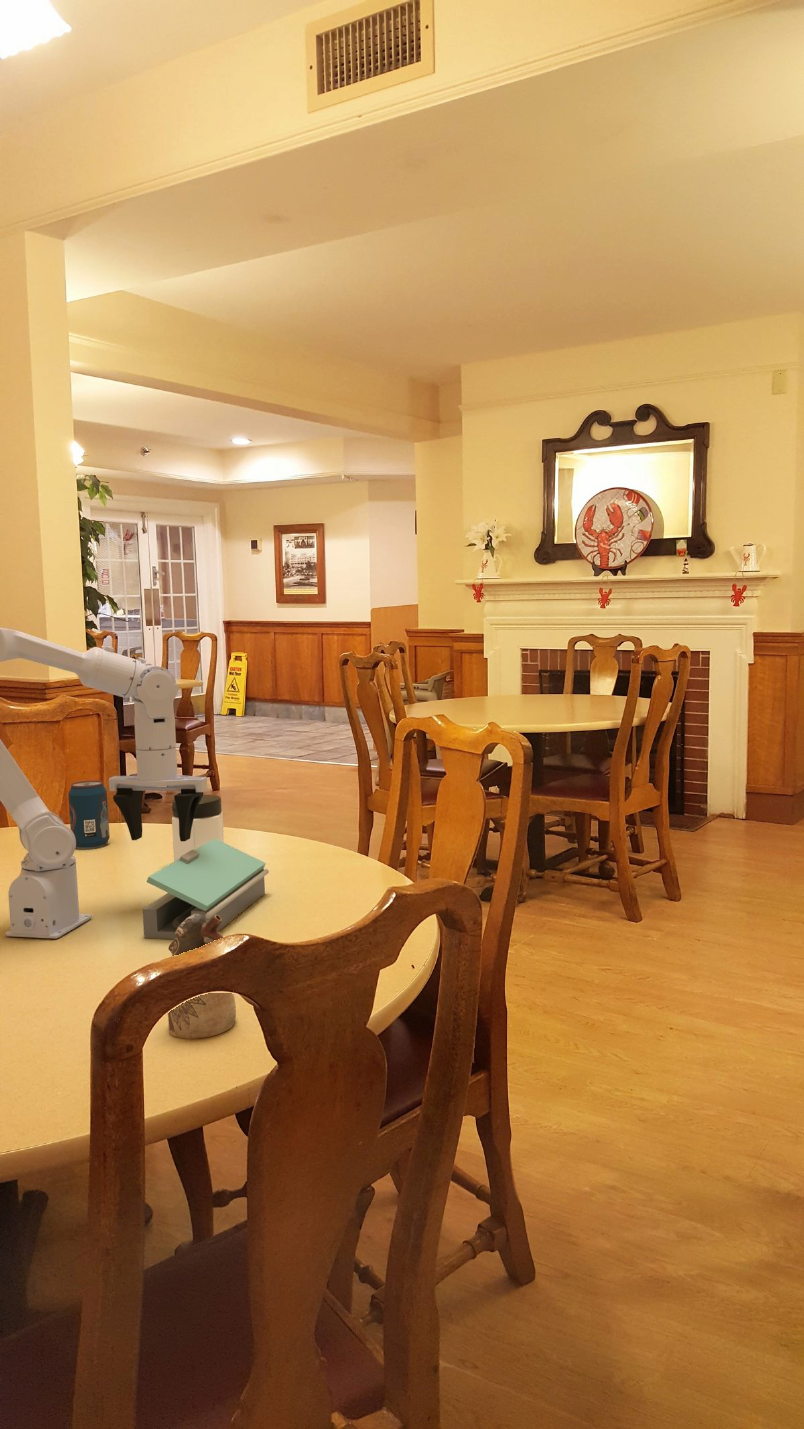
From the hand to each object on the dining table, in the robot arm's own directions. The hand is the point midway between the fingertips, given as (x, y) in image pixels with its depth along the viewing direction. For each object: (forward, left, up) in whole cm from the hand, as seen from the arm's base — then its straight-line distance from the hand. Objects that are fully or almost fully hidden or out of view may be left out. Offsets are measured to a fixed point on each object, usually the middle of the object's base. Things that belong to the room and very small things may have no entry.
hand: (160, 839), depth 146 cm
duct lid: (-2, -8, -4) cm, 10 cm away
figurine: (-38, -23, -10) cm, 46 cm away
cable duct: (-2, -8, -10) cm, 13 cm away
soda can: (+35, +32, -10) cm, 48 cm away
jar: (+22, +4, -10) cm, 25 cm away
